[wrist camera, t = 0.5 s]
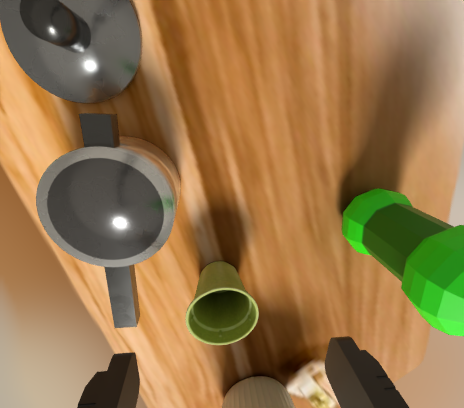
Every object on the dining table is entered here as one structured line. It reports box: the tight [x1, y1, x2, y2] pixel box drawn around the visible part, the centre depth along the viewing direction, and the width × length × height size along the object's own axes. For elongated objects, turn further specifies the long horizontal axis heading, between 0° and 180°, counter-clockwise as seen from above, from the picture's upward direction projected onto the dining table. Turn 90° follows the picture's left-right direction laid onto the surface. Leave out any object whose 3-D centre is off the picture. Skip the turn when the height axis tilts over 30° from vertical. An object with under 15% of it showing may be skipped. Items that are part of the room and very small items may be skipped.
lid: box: [0, 0, 142, 103], centre depth 24 cm, size 14×14×6 cm
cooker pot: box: [36, 113, 181, 328], centre depth 30 cm, size 25×13×9 cm, turn 178°
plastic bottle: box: [342, 188, 464, 336], centre depth 27 cm, size 10×10×25 cm
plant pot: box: [186, 261, 259, 345], centre depth 36 cm, size 9×9×9 cm
